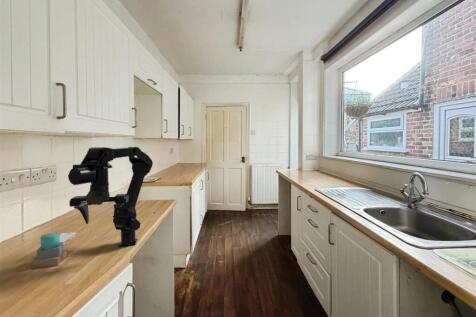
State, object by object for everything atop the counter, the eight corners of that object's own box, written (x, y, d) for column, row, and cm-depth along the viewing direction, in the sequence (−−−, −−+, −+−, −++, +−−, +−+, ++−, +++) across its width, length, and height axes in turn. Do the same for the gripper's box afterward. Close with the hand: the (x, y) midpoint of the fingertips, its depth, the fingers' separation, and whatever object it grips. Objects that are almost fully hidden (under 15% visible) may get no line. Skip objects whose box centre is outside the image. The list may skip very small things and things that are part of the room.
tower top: (42, 252, 93) (42, 244, 93) (63, 249, 96) (63, 241, 96) (36, 259, 88) (36, 251, 87) (59, 256, 90) (59, 248, 90)
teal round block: (44, 244, 93) (44, 233, 93) (62, 242, 95) (61, 232, 95) (37, 250, 88) (37, 238, 88) (56, 248, 90) (56, 237, 89)
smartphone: (41, 246, 106) (61, 232, 120) (42, 248, 106) (61, 235, 121) (61, 244, 107) (78, 231, 122) (61, 247, 107) (78, 234, 122)
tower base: (43, 259, 95) (42, 251, 94) (67, 257, 96) (67, 249, 96) (31, 269, 87) (31, 261, 87) (58, 266, 89) (57, 258, 89)
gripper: (61, 185, 84) (63, 231, 85) (122, 183, 88) (123, 227, 89) (74, 181, 95) (76, 222, 96) (128, 179, 99) (129, 218, 100)
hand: (101, 222), depth 95 cm, fingers open, 9 cm apart
